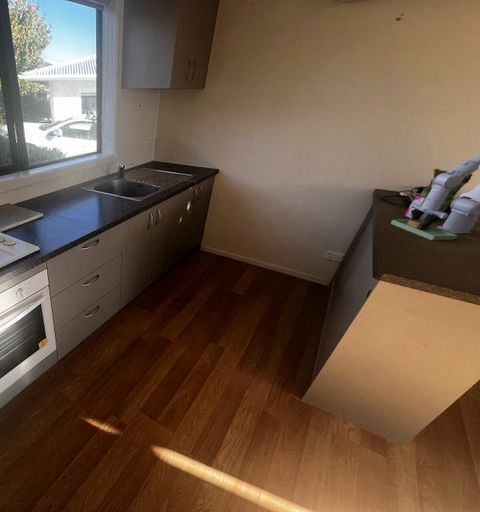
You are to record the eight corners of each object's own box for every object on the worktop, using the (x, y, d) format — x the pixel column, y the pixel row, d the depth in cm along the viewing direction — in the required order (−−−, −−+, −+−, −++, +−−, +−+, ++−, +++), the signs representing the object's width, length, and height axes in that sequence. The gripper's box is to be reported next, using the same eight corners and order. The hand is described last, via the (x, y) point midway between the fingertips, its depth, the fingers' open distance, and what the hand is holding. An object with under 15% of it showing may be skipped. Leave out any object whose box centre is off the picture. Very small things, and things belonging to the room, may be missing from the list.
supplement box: (424, 220, 152) (437, 199, 147) (411, 219, 153) (423, 198, 148) (416, 216, 157) (428, 196, 152) (403, 215, 158) (415, 195, 153)
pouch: (446, 219, 155) (477, 172, 143) (428, 219, 154) (457, 172, 141) (423, 211, 165) (450, 167, 152) (405, 212, 163) (431, 167, 151)
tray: (411, 223, 149) (413, 219, 148) (455, 239, 132) (458, 235, 131) (390, 223, 148) (392, 219, 147) (431, 240, 131) (434, 236, 130)
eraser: (419, 226, 144) (423, 219, 142) (429, 229, 140) (433, 223, 138) (405, 226, 143) (409, 219, 141) (414, 230, 139) (419, 223, 138)
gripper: (410, 195, 140) (395, 221, 147) (444, 205, 128) (426, 233, 135) (423, 195, 141) (408, 220, 148) (458, 205, 129) (440, 232, 135)
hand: (417, 226), depth 141 cm, fingers closed on eraser, 4 cm apart
